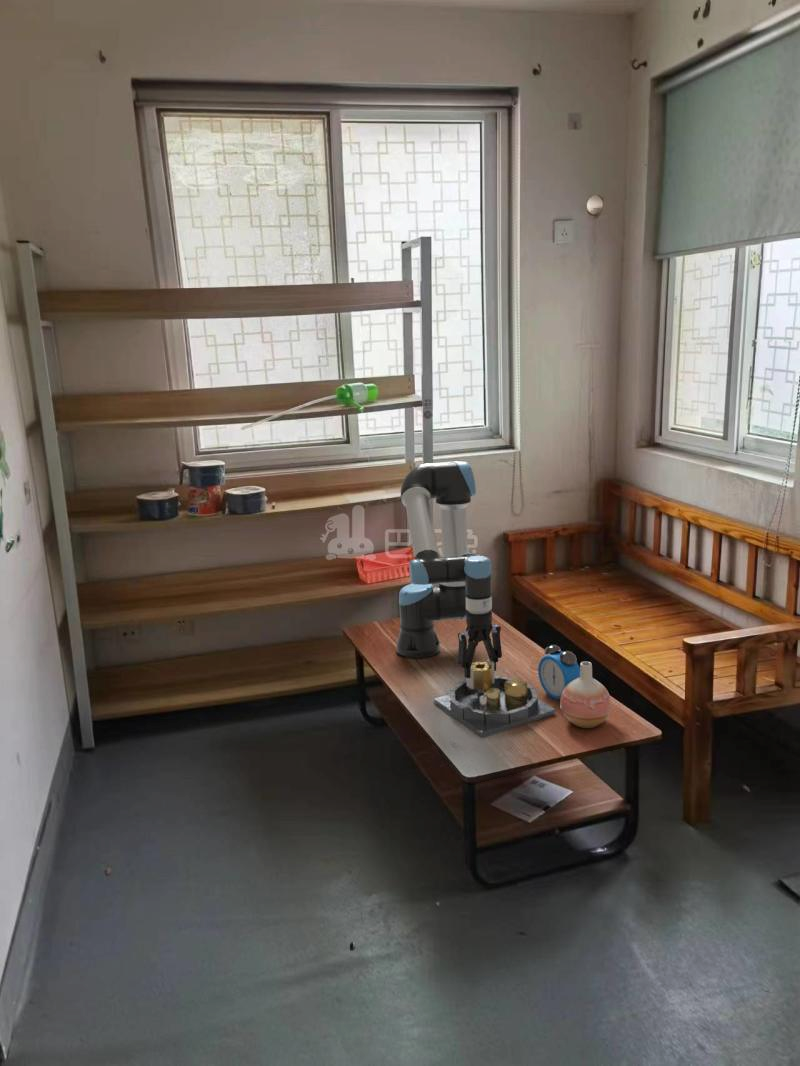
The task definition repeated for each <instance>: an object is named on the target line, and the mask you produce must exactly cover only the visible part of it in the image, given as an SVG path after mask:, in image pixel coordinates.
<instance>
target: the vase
mask: <svg viewBox="0 0 800 1066" xmlns="http://www.w3.org/2000/svg"><path fill="white" fill-rule="evenodd" d="M579 668H580V677H579V678H577V679H575V680H573V681H571V682H570V683H569V684H568V685H567V686H566V687H565V689H564V690H563V692H562V695H561V699H559V701H560V702H559V706H560V711H561V713H562V714H563V716H564V717H565V718H566V720H567V721H569V722H570V723H572V724H573V725H574V726H575V727H577V728H582V729H593V728H596V727H598V726H599V725H600V724H602V723H604V722H605V721H606V720H607V719H608V718H609V716H610V714H611V712H612V699H611V696H610V694H609V691H608V690H607V688H606V687H605V686H604V685H603V684H602V683H601V682H599V681H598V680H597V679H595V678H594V677H593V665H592V662H590V661H585V660H584V661H581V662H580V664H579Z"/></svg>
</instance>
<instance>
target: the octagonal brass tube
mask: <svg viewBox="0 0 800 1066" xmlns="http://www.w3.org/2000/svg"><path fill="white" fill-rule="evenodd" d="M471 667H473V671H474V690H486V689H489V688H491V687H492V685H493V677H492V665H491V664H489V663H487V661H476V662H472V665H471Z"/></svg>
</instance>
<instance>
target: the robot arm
mask: <svg viewBox="0 0 800 1066" xmlns="http://www.w3.org/2000/svg"><path fill="white" fill-rule="evenodd" d="M476 487H477V486H476V481H475V475H474V471H473V468H472V466H471V464H470V463H469V462H467V461H456V460H455V461H454V460H453V461H444V462H443V461H442V462H432V463H430V462H427V463H426V462H425V463H420V464H419V465H417V466H415V467H413V468H412V469H411V470H410V471H409V472H408V473H407V475H405V477H404V479H403V482H402V483H401V487H400V499H401V503H402V505H403V506H404V507H405V510H406V516H407V521H408V529H409V534H410V541H411V546H412V552H413V553H412V554H413V558H414V559H411V560H410V561H409V564H408V565H409V566H408V567H409V579H410V582H411V583H409V584H407V585H405V586H403V587H402V588H401V589H400V591H399V593H398V596H399V597H398V604H399V622H400V625H399V626H400V627H399V628H400V630H399V634H398V638H397V641H396V645H395V647H396V648H395V649H396V650H395V651H396V653H397V654H398V653H399V654H400V655H399V654H398V655H399V656H401V655H402V656H401V657H404V656H405V657H404V658H410V659H423V658H424V659H425V658H429V657H432V656H436V655H437V654H438V653H439V652H440V651H441V643H440V639H439V637H438V634H437V632H436V630H435V622H437V621H450V620H451V621H452V620H464V619H465V623H466V629H465V631H463V632H462V633H461V632H458V633H457V637H458V638H457V639H458V652H457V654H458V655H457V665H458V666H459V667H462V668H463V673H464V674H463V675H464V678H466V680H467V687H469V688H471V689H474V671H473V667H471V665H472V663H473V660H474V656H475V653H476V649H477V647H478V645H479V643H480V642H481V641H482V642H483V645H484V648H485V651H486V653H487V656H488V659H486V662H487V663H489V664H491V665H492V677H493V683H494V676H495V671H497V663H498V662H499V659H500V658H501V659H502V657H503V653H502V642H501V641H502V640H501V631H502V629H501V626H499V625H498V624H496V623H494V624H492V623H493V611H492V608H493V596H492V593H493V591H492V573H493V568H492V561H491V559H490V558H489V557H488V556H484V555H477V554H476V553H473V552H469V551H468V522H467V521H468V519H467V518H468V517H467V507H468V506H469V505H470V503H472V502H471V501H472V500H471V497H474V496H476V493H477V491H476V490H477V488H476ZM432 499H435V504H436V505H437V506H438V507H440V526H441V528H440V529H441V530H440V531H441V552H442V553H441V556H442V557H440V554H439V553H440V552H439V547H438V542H437V538H436V532H435V527H434V523H433V522H434V521H433V516H432V512H431V506H430V503H431V502H430V501H431V500H432ZM433 584H438V585H437V586H434V585H433ZM490 634H491V636H490Z"/></svg>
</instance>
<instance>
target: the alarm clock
mask: <svg viewBox="0 0 800 1066" xmlns="http://www.w3.org/2000/svg"><path fill="white" fill-rule="evenodd" d="M543 653H544V654H543V655H544V656H543V657H541V659H540V661H539V663H538V668H537V674H538V675H537V676H538V679H539V683H540V684H541V686H542V688H543V691H544V692H545V694H546V695H548V696H549V697H550V698H553V699H554V700H560V699H561V695H562V692H563V690H564V689H565V687H566V686H567V685H568V684H569V683H570V682H571V681H573V680H575V679H577V678H579V677H580V664H578V661H577V656H576V654H574V653H573V652H572V651H569V650H566V651H562V650H561V647H560V646H558V645H557V644H549V646H547V647H546V648H545V649H544V652H543Z"/></svg>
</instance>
